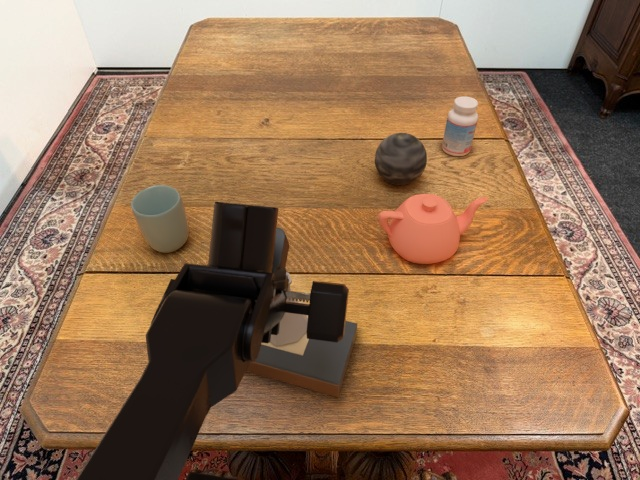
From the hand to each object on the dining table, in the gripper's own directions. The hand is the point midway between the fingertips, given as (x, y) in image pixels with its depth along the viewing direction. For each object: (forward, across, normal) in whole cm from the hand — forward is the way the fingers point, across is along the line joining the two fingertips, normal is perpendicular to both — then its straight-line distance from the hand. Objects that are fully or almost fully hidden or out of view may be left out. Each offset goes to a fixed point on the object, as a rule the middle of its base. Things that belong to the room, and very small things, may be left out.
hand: (278, 295), depth 61 cm
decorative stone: (+36, -15, -21) cm, 44 cm away
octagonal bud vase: (+6, 0, +5) cm, 8 cm away
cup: (+20, +24, -4) cm, 31 cm away
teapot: (+24, -20, -9) cm, 33 cm away
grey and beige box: (+7, -2, +8) cm, 11 cm away
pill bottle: (+45, -26, -30) cm, 60 cm away
